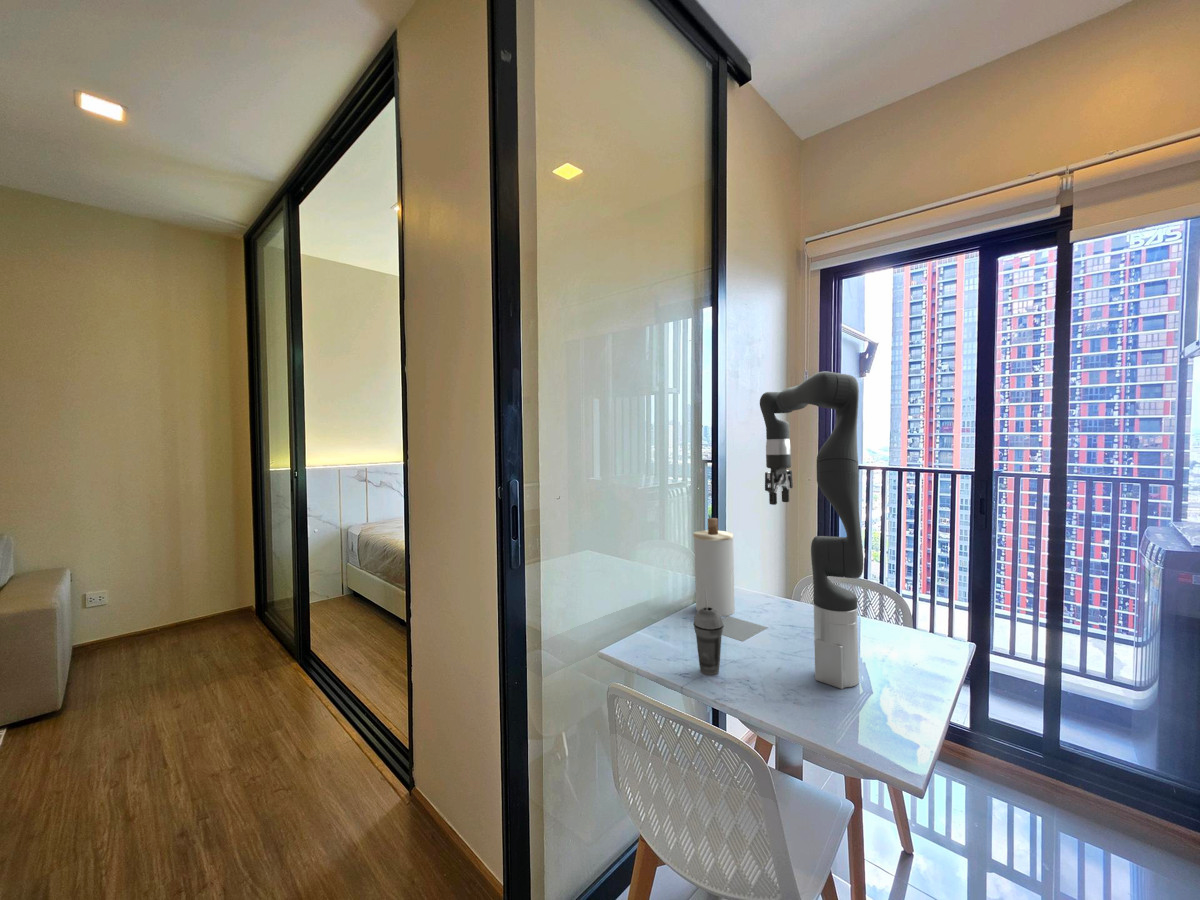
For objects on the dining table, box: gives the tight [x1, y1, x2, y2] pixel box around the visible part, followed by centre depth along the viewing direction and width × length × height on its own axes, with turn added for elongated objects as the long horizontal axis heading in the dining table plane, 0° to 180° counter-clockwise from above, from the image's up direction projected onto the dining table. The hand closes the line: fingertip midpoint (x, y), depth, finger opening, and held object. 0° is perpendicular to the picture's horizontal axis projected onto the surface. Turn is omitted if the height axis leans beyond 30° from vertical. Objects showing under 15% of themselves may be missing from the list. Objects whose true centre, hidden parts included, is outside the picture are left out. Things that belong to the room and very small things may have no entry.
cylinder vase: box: [693, 537, 736, 618], centre depth 158 cm, size 12×12×25 cm
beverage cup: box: [692, 589, 724, 677], centre depth 117 cm, size 7×7×20 cm
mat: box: [721, 615, 769, 642], centre depth 142 cm, size 14×14×1 cm
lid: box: [692, 517, 734, 541], centre depth 158 cm, size 13×13×6 cm
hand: (779, 503), depth 154 cm, fingers open, 8 cm apart
